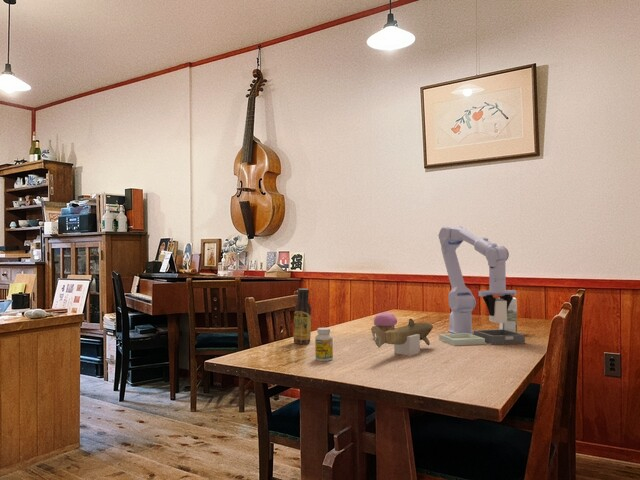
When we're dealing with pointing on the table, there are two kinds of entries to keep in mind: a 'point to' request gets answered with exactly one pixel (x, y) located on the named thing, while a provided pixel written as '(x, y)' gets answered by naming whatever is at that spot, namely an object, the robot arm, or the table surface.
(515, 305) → the syrup box
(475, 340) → the tray
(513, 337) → the gray rectangular frame
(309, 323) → the sauce bottle
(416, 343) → the wood carving
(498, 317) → the module block
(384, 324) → the cupcake
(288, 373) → the table surface
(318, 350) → the supplement bottle
